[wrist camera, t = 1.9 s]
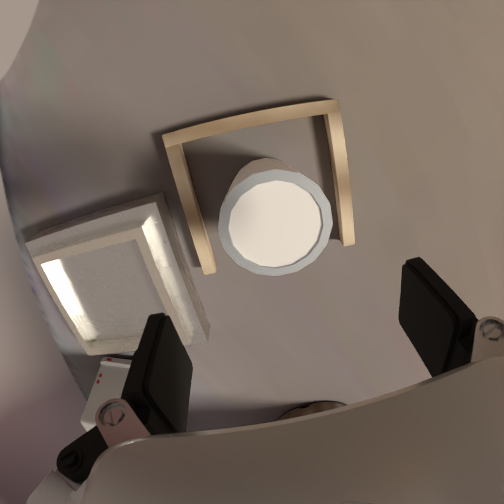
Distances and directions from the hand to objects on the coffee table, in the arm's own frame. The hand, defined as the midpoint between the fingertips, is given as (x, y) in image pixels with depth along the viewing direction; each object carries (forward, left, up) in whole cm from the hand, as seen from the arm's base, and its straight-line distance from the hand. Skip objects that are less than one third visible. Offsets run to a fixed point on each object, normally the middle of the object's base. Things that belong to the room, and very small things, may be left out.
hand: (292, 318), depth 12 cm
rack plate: (+5, -15, -15) cm, 21 cm away
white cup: (0, 0, -15) cm, 15 cm away
